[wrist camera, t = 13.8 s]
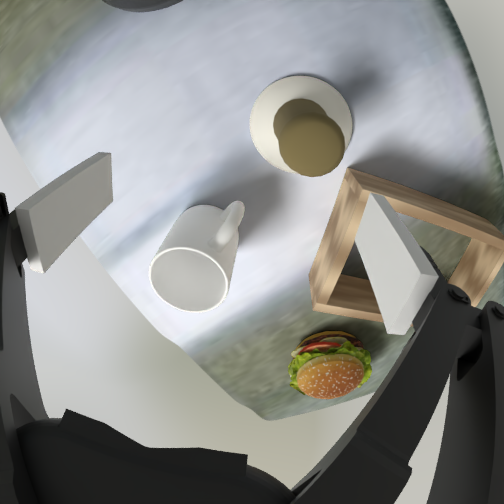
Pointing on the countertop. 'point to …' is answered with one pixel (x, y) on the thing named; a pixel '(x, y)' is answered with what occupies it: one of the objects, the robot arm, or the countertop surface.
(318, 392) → the food
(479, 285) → the access box
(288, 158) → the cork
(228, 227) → the mug
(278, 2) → the countertop surface
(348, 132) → the coaster
